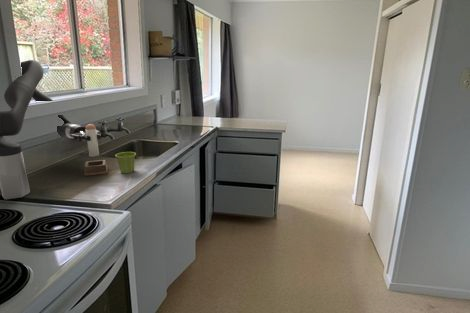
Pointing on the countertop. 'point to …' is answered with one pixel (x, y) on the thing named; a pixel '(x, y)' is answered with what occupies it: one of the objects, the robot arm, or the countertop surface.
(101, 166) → the box
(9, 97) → the robot arm
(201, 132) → the countertop surface
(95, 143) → the capped white tube
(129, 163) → the plant pot
